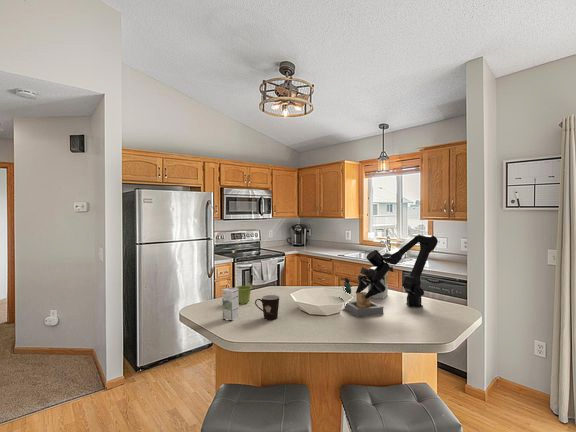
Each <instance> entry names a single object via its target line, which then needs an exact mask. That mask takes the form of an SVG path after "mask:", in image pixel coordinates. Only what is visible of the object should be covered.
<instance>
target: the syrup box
mask: <svg viewBox="0 0 576 432" xmlns="http://www.w3.org/2000/svg"><path fill="white" fill-rule="evenodd" d="M221 294H222V295H221V296H222V320H223V319H228V320H234V319H236V318H238V317H240V312H239V310H240V308H239V307H240V306H239V302H238V288H235V287H226V288H224V289H223V288H222V289H221ZM238 319H239V318H238ZM228 320H227V321H228ZM236 320H237V319H236ZM234 321H235V320H234Z"/></svg>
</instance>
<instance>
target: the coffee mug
mask: <svg viewBox="0 0 576 432" xmlns="http://www.w3.org/2000/svg"><path fill="white" fill-rule="evenodd" d="M257 301H260V302H261V304H262V308H261V307H259V305H258V303H257ZM254 305H255V306H256V307H257V308H258V309H259V310H260V311H262V312H263V319H264V320H265V319H267V320H266V321H275V320H277V319H278V314H279V307H280V296H279V295H275V294H267V295H262V296H261V298H256V300H255V301H254Z"/></svg>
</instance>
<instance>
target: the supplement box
mask: <svg viewBox="0 0 576 432" xmlns="http://www.w3.org/2000/svg"><path fill="white" fill-rule="evenodd" d="M376 267H377V266H371V267H370V268H371V269H373V270H375V269H376ZM388 274H389V271H388V272H387V274H386V275H385V276H384V278H385V279H384V280H381V281H380V282H381V283H382V284H383V285H384V286H385V287H386V290H385V291H384V293H383V292H381V293H378V294H376V295H373V296H371V297H370V298H375V299H381V300H384V299H385V298H387V297H388V296H389V295H388V293H389V292H388V291H389V289H388V288H389V287H388V286H389V285H388V283H389V282H388V279H389V278H388ZM370 288H371V284H370V285H368V286H367V292H368V291H369V290H370Z"/></svg>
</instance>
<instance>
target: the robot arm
mask: <svg viewBox="0 0 576 432" xmlns="http://www.w3.org/2000/svg"><path fill="white" fill-rule="evenodd" d="M418 243H419V252H418V254H417V257H416V260H415V263H414V265H413V267H412V270H411V273H410V274H409V275H404V279H403V281H402V287H403V289H404V291H405V293H407V296H406V303H405V304H406V305H408V307H411V308H422V307H424V305H422V296H424V294H425V291H424V290H423V289H422V287H421V284H422V281H421V276H422V273H423V270H424V268H425V266H426V264H427V261H428V258H429V255H430V253H432V251H434V250H435V249H436V246H437V245H438V243H439V240H438V238H437V237H436V236H435V235H428V234H425V235H424V234H423V235H421V234H417V233H416V234H415V233H413V234H411V235H410V237H408V238H407V239H405V241H403V242H402V243H401V244H400V245H399V246H397V247H396V248H394V249H391V250H389V251H387V252H385V253H383V254H381V253H380V252H379V250H378V249H374V250H373V251H371V252H369V253H367V255H366V260H367V261H368V262H369V263H370V264H371V265H372V267H376V269H375V270H373V269H371V267H369V268H365V267H361V270H360V272H359V275H358V276H357V280H358V285H357V288H356V291H355V294H356V293H361V292H364V290H366V289H368V285H370V284H371V288H370V290H369V291H368V290H367V292H366V293H367V294H366V296H365V298H366V299H367V298H369V297H370V298H372V297H371V296H373V295H376V294H378V293H381V292H383V293H384V291H385V290H386V287H385V286H384V285H383V284H382V283H381V282H380V281H381V280H384V279H385V278H384V276H385V275H386V274H387V272H388V273H389V272H392V273H393V272H394V267H393V266H392V265H394V266H395V265H397V264H398V263H399V262H400V261H401V260H402V257H403V256H404V255H405V254H406V253H407V252H408V251H410V250H411V249H412V248H413V247H414V246H416V245H417V244H418Z"/></svg>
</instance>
